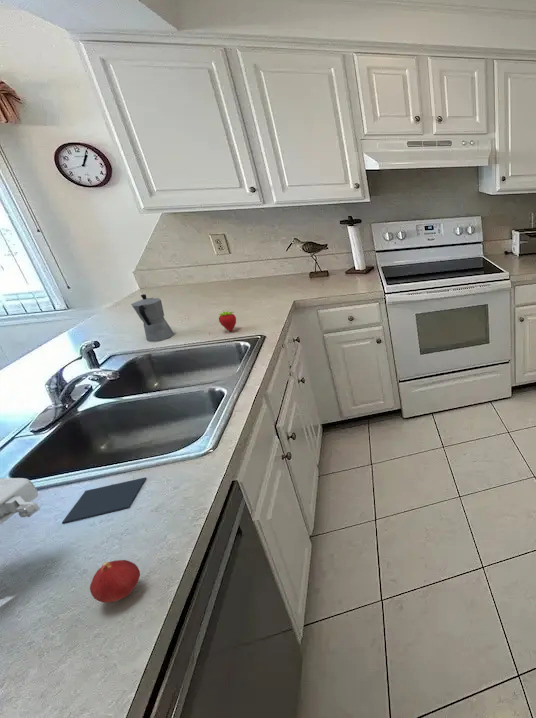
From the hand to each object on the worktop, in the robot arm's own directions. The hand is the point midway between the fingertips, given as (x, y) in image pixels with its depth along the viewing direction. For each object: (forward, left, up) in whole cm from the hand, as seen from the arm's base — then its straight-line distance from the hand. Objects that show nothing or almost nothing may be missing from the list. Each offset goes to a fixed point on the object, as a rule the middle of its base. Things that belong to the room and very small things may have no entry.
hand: (1, 534), depth 61 cm
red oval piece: (+11, -4, -15) cm, 19 cm away
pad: (-2, +23, -15) cm, 28 cm away
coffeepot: (-23, +121, -15) cm, 124 cm away
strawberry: (+3, +117, -15) cm, 118 cm away
